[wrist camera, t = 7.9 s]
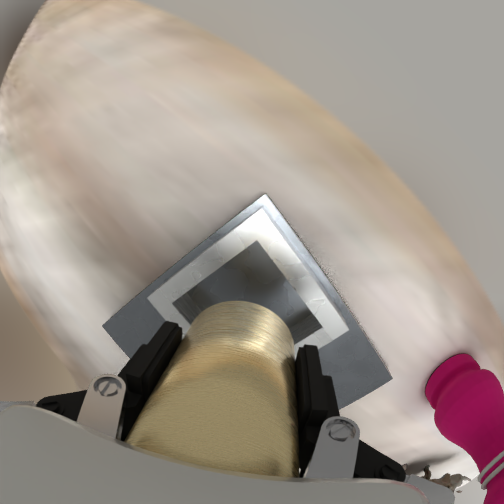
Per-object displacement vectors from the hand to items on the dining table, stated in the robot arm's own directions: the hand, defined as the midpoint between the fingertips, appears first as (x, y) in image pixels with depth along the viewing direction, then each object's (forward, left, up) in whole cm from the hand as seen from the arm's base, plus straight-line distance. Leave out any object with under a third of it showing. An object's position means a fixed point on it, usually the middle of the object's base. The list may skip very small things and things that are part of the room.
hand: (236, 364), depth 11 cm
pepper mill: (+10, -20, -9) cm, 24 cm away
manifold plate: (-4, -4, -9) cm, 11 cm away
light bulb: (0, 0, -1) cm, 1 cm away
